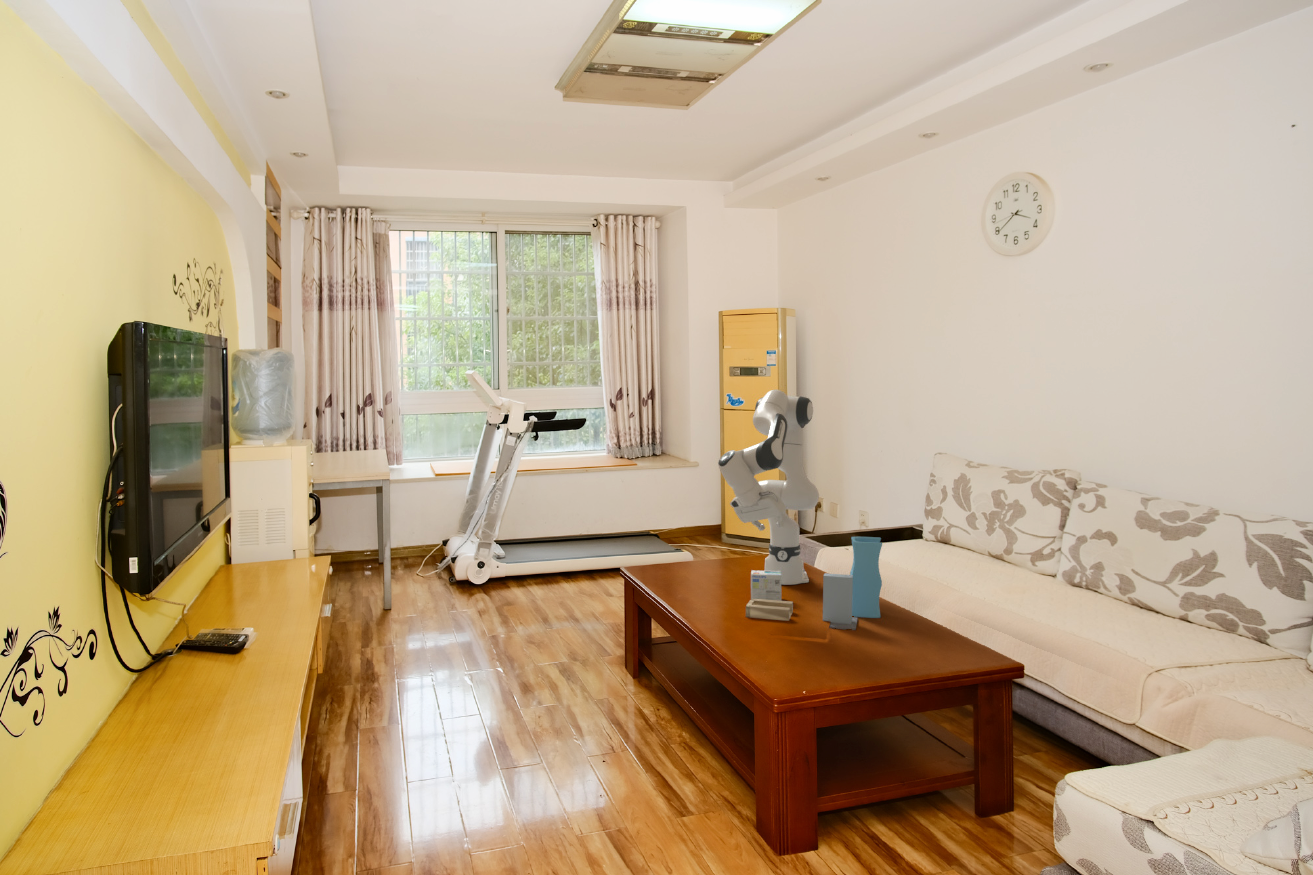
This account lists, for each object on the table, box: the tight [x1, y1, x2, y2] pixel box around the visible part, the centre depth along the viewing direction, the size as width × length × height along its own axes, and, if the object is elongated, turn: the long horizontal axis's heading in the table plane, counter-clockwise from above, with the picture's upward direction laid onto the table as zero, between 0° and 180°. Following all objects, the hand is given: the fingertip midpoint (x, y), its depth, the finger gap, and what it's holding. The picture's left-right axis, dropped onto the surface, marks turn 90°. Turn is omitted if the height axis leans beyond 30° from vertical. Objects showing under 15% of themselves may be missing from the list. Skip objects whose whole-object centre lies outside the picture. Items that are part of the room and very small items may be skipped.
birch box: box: [745, 597, 794, 621], centre depth 277 cm, size 10×14×4 cm
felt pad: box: [828, 617, 859, 631], centre depth 271 cm, size 12×12×1 cm
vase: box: [849, 536, 883, 619], centre depth 282 cm, size 10×10×25 cm
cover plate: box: [822, 572, 853, 624], centre depth 271 cm, size 4×9×15 cm, turn 74°
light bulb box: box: [750, 569, 782, 601], centre depth 296 cm, size 11×7×11 cm, turn 84°
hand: (772, 527), depth 285 cm, fingers open, 8 cm apart
